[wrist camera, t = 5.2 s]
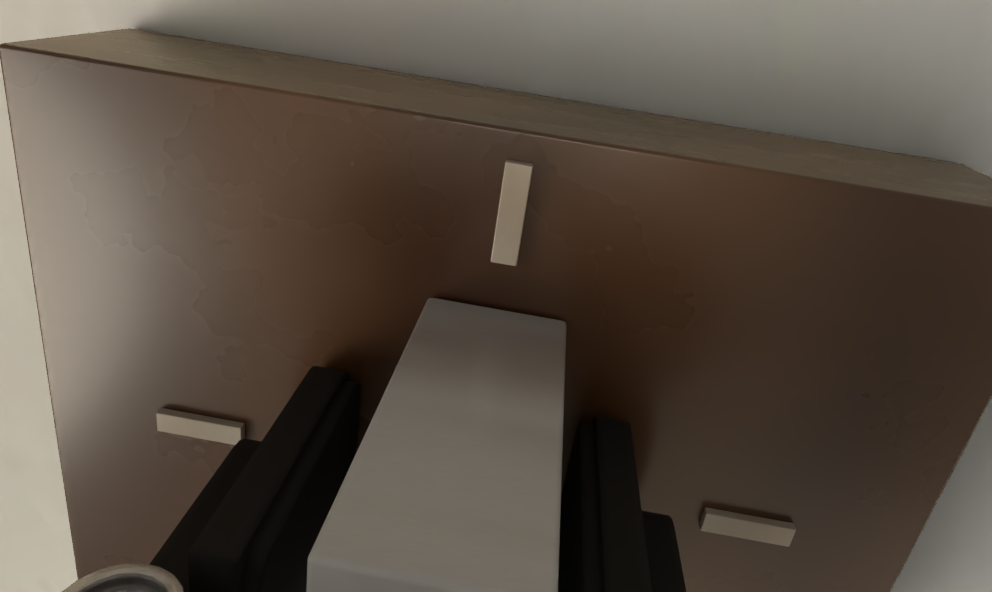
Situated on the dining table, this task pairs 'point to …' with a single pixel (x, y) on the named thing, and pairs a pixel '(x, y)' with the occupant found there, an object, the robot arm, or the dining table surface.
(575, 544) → the robot arm
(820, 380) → the brown dial block
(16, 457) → the dining table surface
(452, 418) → the red-tipped white block
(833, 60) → the dining table surface
